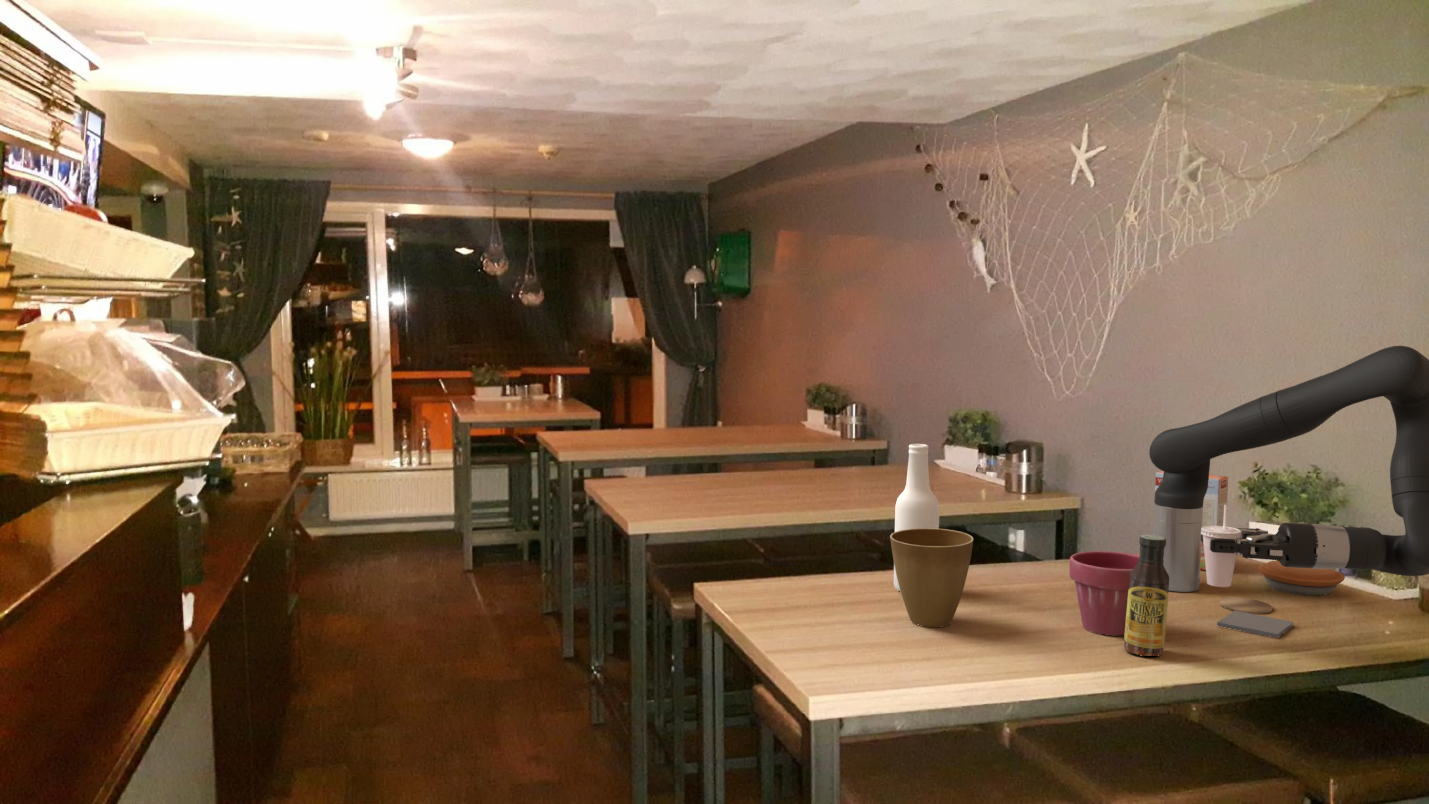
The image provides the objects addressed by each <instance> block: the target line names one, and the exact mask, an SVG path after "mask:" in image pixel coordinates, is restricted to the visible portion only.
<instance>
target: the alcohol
mask: <svg viewBox="0 0 1429 804" xmlns="http://www.w3.org/2000/svg"><path fill="white" fill-rule="evenodd" d="M929 448H930V447H929V445H928V444H924V443H912V444H911V443H910V444H909V445H908V463H907V471H906V473H907V474H906V481H905V482H906V484H905V487H904V490H903V491H902V492H901V493H900V494H899V496H898V497H897V499H896V503H895V505H894V506H895V507H894V509H895V511H894V532H897V531H901V530H907V529H918V528H934V529H940V505H939V501H938V498H937V497H936V495H935V494H934V493H933V492H932V490H931V486H930V473H929V471H930V470H929V469H930V468H929ZM893 586H894V588H895V590H896V589H897V590H899V591H900V587H899V583H898V579H897V575H896V570H895V565H894V564H893ZM897 590H896V591H897Z"/></svg>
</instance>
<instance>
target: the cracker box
mask: <svg viewBox="0 0 1429 804" xmlns="http://www.w3.org/2000/svg"><path fill="white" fill-rule="evenodd" d="M1163 474H1164V471H1162V470H1160V471H1157V472H1155V482H1154V483H1155V485H1154V487H1155V488H1154V492H1155V491H1156V489H1157V488H1158V487H1159V485H1160V484H1161V482H1162V479H1163ZM1228 489H1229V476H1226V475H1225V476H1223V475H1214V474H1209V481H1208V489H1207V492H1206V495H1205V497H1204V502H1203V522H1202V527H1204V526H1223V522H1224V505H1228ZM1201 570H1202V571H1206V565H1205V554H1204V544H1203V543H1202V542H1201V563H1200V571H1201Z"/></svg>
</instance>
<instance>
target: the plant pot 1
mask: <svg viewBox="0 0 1429 804" xmlns="http://www.w3.org/2000/svg"><path fill="white" fill-rule="evenodd" d="M889 539H890V540H889V541H890V546H891V553H892V558H893V566H894V565H895V570H896V575H897V579H898V583H899V587H900V591H901V597H902V600H903V603H904V604H903V605H904V606H905V607H904V608H905V609H906V612H907V615H908V617H909V620H910V622H911V621H912V622H913V624H914V623H915V624H914V625H916V624H919V625H922V626H921V627H924V626H929V627H928V628H941V627H940V626H944V627H947V626H949V625H951V624H952V621H953V619H954V617H955V614H956V611H957V609H958V607H959V604H960V600H961V598H962V594H963V592H964V587H965V584H966V580H967V577H968V572H969V568H970V562H971V558H972V552H973V544H974V537H973V536H972V535H970V534H968V533H966V532H963V531H958V530H953V529H952V530H951V529H944V528H939V529H934V528H918V529H907V530H901V531H897V532H895V531H894V532H892V533H891V534H890V535H889ZM912 622H911V623H912ZM919 625H918V626H919Z"/></svg>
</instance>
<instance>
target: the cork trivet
mask: <svg viewBox="0 0 1429 804" xmlns="http://www.w3.org/2000/svg"><path fill="white" fill-rule="evenodd" d="M1219 605H1220V607H1222V606H1223V607H1222V608H1224V607H1225V608H1224V609H1226V608H1227V609H1226V610H1229V609H1230V610H1229V611H1232V610H1233V611H1239V612H1244V613H1250V614H1255V615H1262V614H1269V613H1271V612H1273V606H1272V605H1271V604H1270V603H1267V602H1264V601H1261V600H1258V599H1254V598H1249V597H1248V598H1246V597H1235V596H1233V597H1224V598H1221V599H1219ZM1233 611H1232V612H1233Z"/></svg>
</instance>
